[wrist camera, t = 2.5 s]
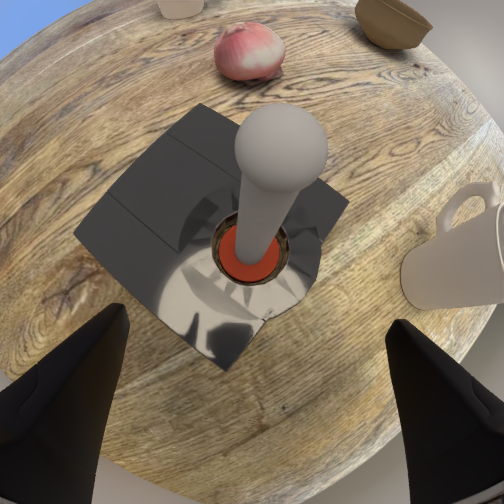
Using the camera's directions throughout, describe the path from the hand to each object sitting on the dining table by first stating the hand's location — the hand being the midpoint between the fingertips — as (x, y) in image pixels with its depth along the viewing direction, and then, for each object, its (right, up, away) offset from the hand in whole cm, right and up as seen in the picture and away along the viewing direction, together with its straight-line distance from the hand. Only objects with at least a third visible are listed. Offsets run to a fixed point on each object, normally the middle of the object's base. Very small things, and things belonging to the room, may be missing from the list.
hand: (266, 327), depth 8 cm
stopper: (-1, +2, +14) cm, 14 cm away
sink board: (-4, +5, +14) cm, 15 cm away
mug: (+16, +1, +15) cm, 22 cm away
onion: (-1, +23, +19) cm, 30 cm away
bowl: (+22, +39, +24) cm, 51 cm away
